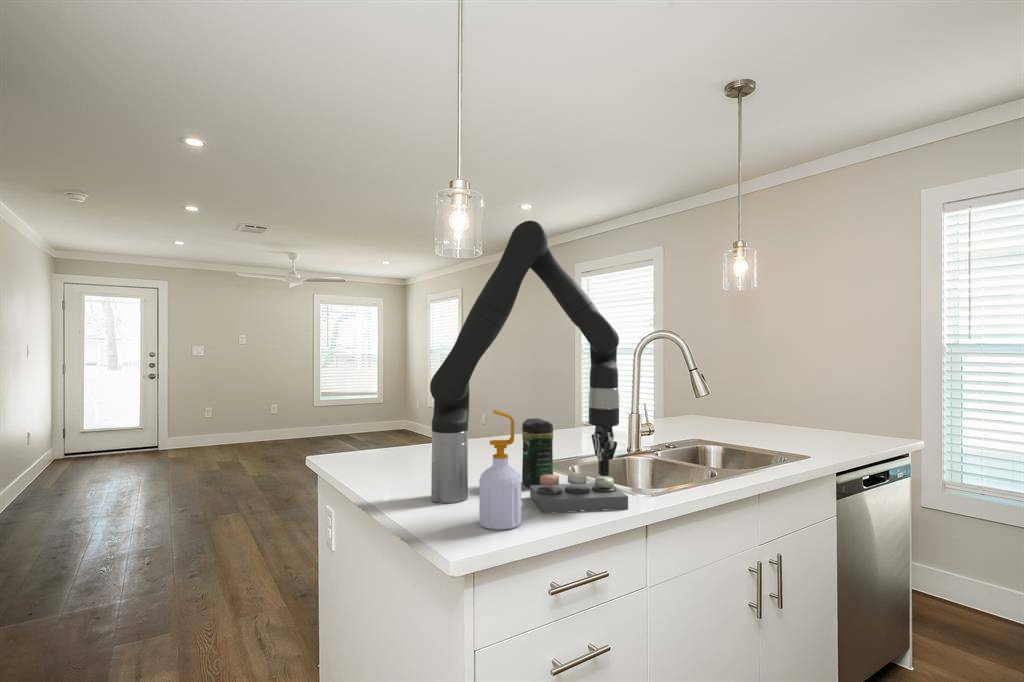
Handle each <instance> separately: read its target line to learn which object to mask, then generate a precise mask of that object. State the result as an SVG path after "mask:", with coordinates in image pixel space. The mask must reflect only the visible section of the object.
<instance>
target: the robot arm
mask: <svg viewBox="0 0 1024 682" xmlns="http://www.w3.org/2000/svg"><path fill="white" fill-rule="evenodd" d="M529 269H531V270H532V271H533V272H534V273H535V274H536V275H537V276H538V277H539V279H540V280H541V281H542V283H544V284H545V286H546V288H547V289H548V290H549V292H550V293H551V294H552V296H553V297H554V299H555V300H556V302H557V303H558V305H559V306H560V307H561V308H562V311H564V313H565V314H566V316H568V318H569V319H570V321H571V322H572V323H573V324H574V325H575V326H576V327H577V328H578V329H579V330H580V332H581V333H582V335H583V337H584V338H585V340H586V341H587V342H588V343H589V353H590V369H589V393H588V424H589V425H590V426H593V427H595V428H594V432H593V434H591V436H590V437H591V441H592V444H593V445H592V446H593V450H594V455H595V456H596V458H597V460H598V475H599V476H600V477H609V475H610V468H609V467H610V461H612V460H613V459H614V455H615V453H616V450H617V446H618V441H615V435H614V431H613V427H616V426H618V425H620V393H619V371H618V366H617V361H618V360H617V357H618V354H617V353H618V346H619V343H620V338H619V334H618V332H617V331H616V329H615V328H614V327H613V325H612V324H611V323H610V322H609V321H608V320H607V319H606V318H605V317H604V315H602V313H601V312H600V311H599V309H598V308H597V307H596V305H595V304H594V303H593V301H592V299H591V298H590V297H589V296H588V294H587V293H586V292H585V290H584V289H583V287H581V286H580V285H579V284H578V282H576V281H575V279H574V278H573V277H571V276H570V274H569V273H567V272H566V271H565V269H564V268H563V266H561V264H560V263H559V262H558V260H557V259H556V257H555V255H554V254H553V251H552V250H551V248H550V246H549V244H548V236H547V232H546V230H545V228H544V227H543V225H542V224H540V223H539V222H537V221H534V220H525V221H523V222H521V223H519V224H518V225H516V227H515V228H514V229H513V231H511V234H510V237H509V239H508V242H507V244H506V247H505V249H504V251H503V254H502V256H501V257H500V260H499V263H498V264H497V266H496V267H495V269H494V271H493V273H492V274H491V275H490V277H489V278H488V280H487V281H486V283H485V285H484V287H483V288H482V289H481V291H480V294H478V296H477V298H476V300H475V302H474V303H473V306H472V307H471V309H470V311H469V313H468V314H467V317H466V318H465V321H464V323H463V324H462V327H461V329H460V332H459V334H458V336H457V338H456V341H455V343H454V345H453V346H452V349H451V350H450V352H449V353H448V354H447V356H446V357H445V359H444V361H443V362H442V363H441V365H440V366H439V368H438V369H437V371H436V372H435V373H434V374H433V376H432V378H431V380H430V383H429V389H430V394H431V396H432V399H433V415H432V419H431V475H430V477H431V486H430V487H431V492H430V493H431V497H430V498H431V502H432V503H435V502H436V503H445V504H446V503H447V504H449V503H450V504H452V503H460V502H463V501H466V500H467V499H469V496H468V495H469V479H468V478H469V421H470V420H469V419H470V380H471V379H472V375H473V373H474V371H475V369H476V367H477V365H478V363H479V362H480V360H481V358H482V357H483V356H484V354H485V353H486V352H487V350H488V349H489V348H490V347H491V346H492V344H493V343H494V341H495V340H496V338H497V337H498V336H499V334H500V332H501V330H502V329H503V327H504V326H505V324H506V322H507V320H508V318H509V316H510V314H511V313H512V310H513V309H514V308H513V307H514V305H515V303H516V300H517V297H518V294H519V291H520V288H521V285H522V283H523V280H524V278H525V276H526V275H527V273H528V272H529Z"/></svg>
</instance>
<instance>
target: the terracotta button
mask: <svg viewBox="0 0 1024 682" xmlns="http://www.w3.org/2000/svg"><path fill="white" fill-rule="evenodd" d="M540 484H542V485H549V486H551V485H558V484H560V476H559V475H556V474H553V475H541V476H540Z"/></svg>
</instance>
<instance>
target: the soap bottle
mask: <svg viewBox="0 0 1024 682" xmlns="http://www.w3.org/2000/svg"><path fill="white" fill-rule="evenodd" d="M492 413H493V414H495V415H499V416H500V417H501V416H502V417H505V418H507V419H509V420H510V437H509V439H494V440H493V439H492V440H489V445H491V446H493V448H494V449H496V453H495V454H494V453H493V454H492V465H490V467H488V468H487V469H485V470H484V471H483V472H482V473H481V474H480V477H479V479H478V480H479V482H478V483H479V485H478V486H479V491H478V492H479V495H478V496H479V499H478V501H479V502H478V503H479V505H478V507H479V512H478V513H479V514H478V515H479V517H478V518H479V521H478V522H479V524H480V526H481V527H483V528H485V529H488V530H493V531H506V530H507V529H508V530H512V529H515V528H517V527H519V526H520V525H521V522H522V476H521V474H520V473H519V472H518V471H517V470H516V469H515V468H513V467H512V466H510V465H509V455H508V454H506V453H505V449H507V447H508V446H510V445H512V444H514V441H515V420H514V418H513V417H512V415H511V414H509V413H506V412H502V411H500V410H496V409H493V410H492Z"/></svg>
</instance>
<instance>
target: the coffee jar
mask: <svg viewBox="0 0 1024 682" xmlns="http://www.w3.org/2000/svg"><path fill="white" fill-rule="evenodd" d="M521 434H522V461H521V462H522V463H521V464H522V466H521V468H522V469H521V472H522V473H521V483H523V485H525V486H526V487H529V488H530V485H542V484H540V476H541V475H554V467H553V466H554V462H553V461H554V459H553V457H554V456H553V453H554V452H553V450H554V449H553V446H554V445H553V442H554V441H553V439H554V426H553V423H551V422H549V421H547V420H544V419H540V418H536V417H535V418H527V419H526V420H524V421H523V422H522V428H521Z"/></svg>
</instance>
